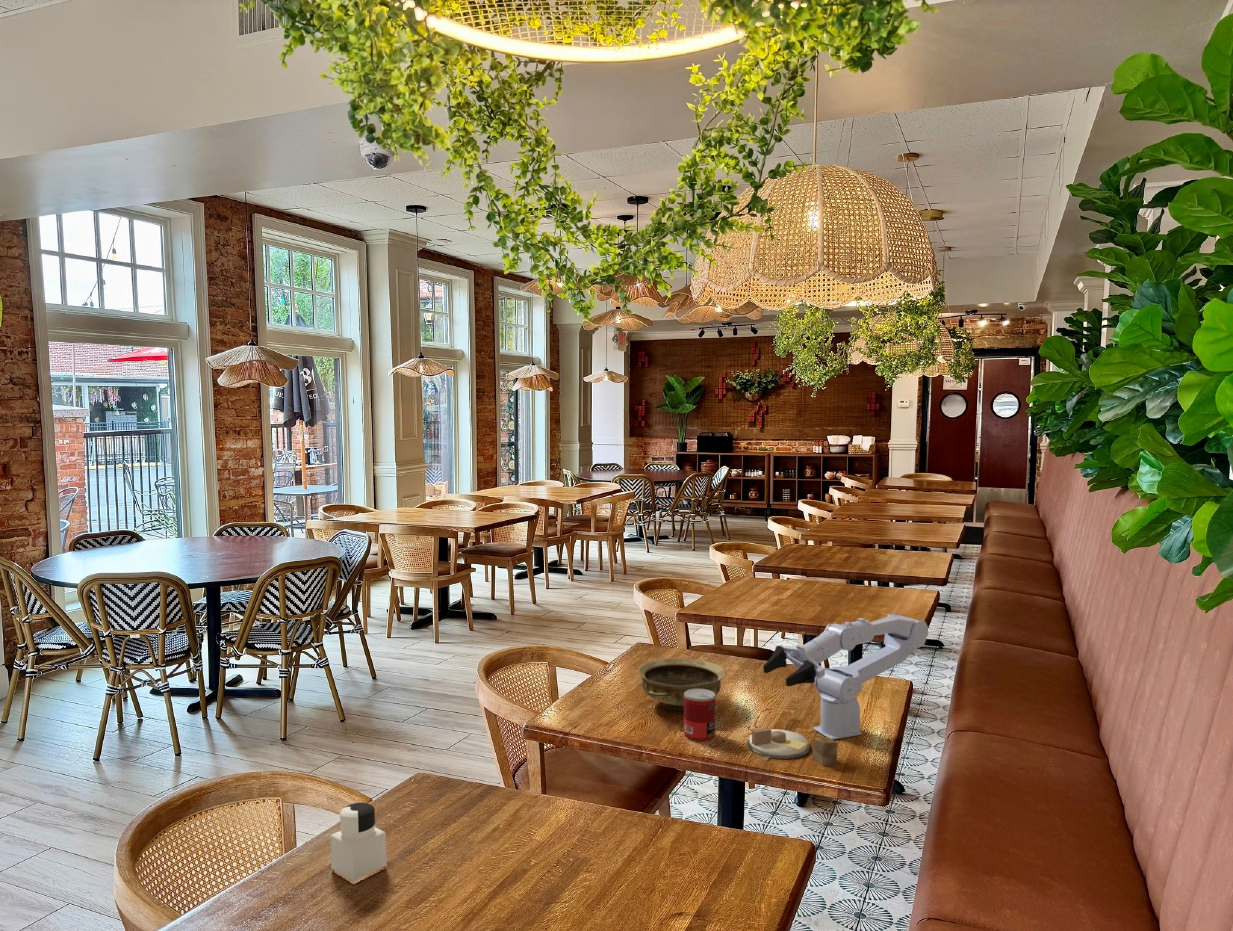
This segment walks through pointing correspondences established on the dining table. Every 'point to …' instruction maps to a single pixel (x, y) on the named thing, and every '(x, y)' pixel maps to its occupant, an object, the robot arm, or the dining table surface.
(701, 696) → the canned food
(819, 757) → the walnut block
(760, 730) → the turntable
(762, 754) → the bearing plate
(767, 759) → the index mark
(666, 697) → the ceramic bowl
